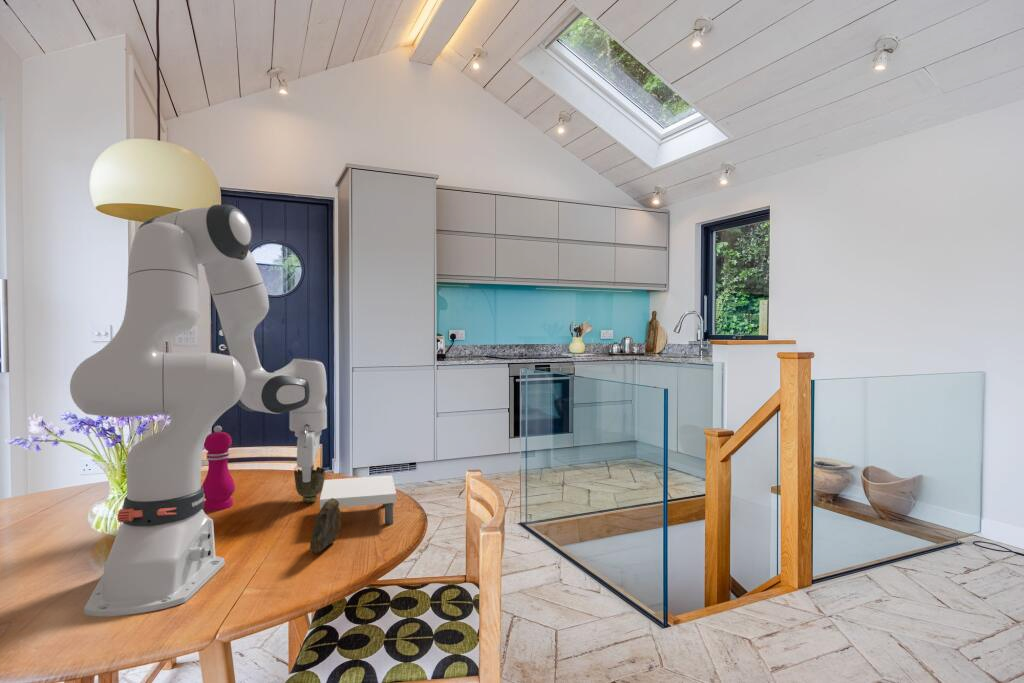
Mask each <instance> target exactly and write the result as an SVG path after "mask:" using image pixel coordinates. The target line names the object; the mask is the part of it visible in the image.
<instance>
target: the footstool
mask: <svg viewBox="0 0 1024 683" xmlns="http://www.w3.org/2000/svg"><path fill="white" fill-rule="evenodd" d="M320 493H321V494H320V498H319V509H320V510H321V509H322V507H323V505H324V503H325V502H327V501H328V500H329V499H331V498H334V499H336V500H337V501H338V502H339V506H338V508H348V507H360V506H373V505H382V507H384V525H387V526H388V525H389V526H390V525H393V524H394V504H395V503H396V504H397V490H396V486H395V482H394V478H393V475H392V474H391V475H377V476H375V475H374V476H363V477H346V478H334V479H333V478H332V479H324V484H323V489H322V491H321V492H320Z"/></svg>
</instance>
